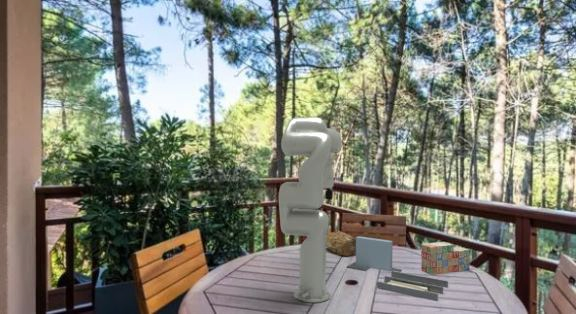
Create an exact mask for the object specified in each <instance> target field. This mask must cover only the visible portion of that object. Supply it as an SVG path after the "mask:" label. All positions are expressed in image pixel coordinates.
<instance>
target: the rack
mask: <svg viewBox="0 0 576 314" xmlns="http://www.w3.org/2000/svg"><path fill="white" fill-rule="evenodd" d="M390 272H391V275H390V276H391V277H390V276H384V282H381V281H377V282H376V288H377V289H379V290H385V291H390V292H394V293H398V294H402V295H407V296H413V297H416V298H421V299H426V300H431V301H435V302H438V301H439V294H440V295H443V294H444V288H447V289H448V288H449V281H448V280H442V279H438V278H437V279H436V278H431V277H426V276H420V275H416V274H410V273H404V272H398V271H392V270H391V271H390ZM391 280H392V281H397V282H402V283H407V284H412V285H416V286H421V287H426V288H428V292H426V291H421V290H416V289H411V288H406V287H402V286H397V285H392V284H387V283H388V282H389V281H391Z"/></svg>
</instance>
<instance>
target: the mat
mask: <svg viewBox="0 0 576 314" xmlns="http://www.w3.org/2000/svg"><path fill="white" fill-rule="evenodd" d="M346 268H348V269H353V270H357V271H364V272H367V271H369V269H371V268H365V267H360V266H356V261H354V262H352V263H350V264H348V265H347V266H346ZM392 271H395V272H400V273H402V271H403V269H400V268H394V267H392V270H391V272H392Z"/></svg>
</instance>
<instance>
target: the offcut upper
mask: <svg viewBox="0 0 576 314" xmlns="http://www.w3.org/2000/svg"><path fill="white" fill-rule="evenodd" d="M387 284H392V285H397V286H402V287H406V288H411V289H416V290H421V291H426V292H429V291H428V288H426V287H421V286H416V285H412V284H407V283H402V282H397V281H392V280H391V281H389V282H388V283H387Z"/></svg>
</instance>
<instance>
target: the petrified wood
mask: <svg viewBox="0 0 576 314" xmlns="http://www.w3.org/2000/svg"><path fill="white" fill-rule="evenodd" d="M326 249H329V250H330V251H331V252H333V253H334V254H337V255H339V256H344V257H348V256H352V255H356V237H353V236H351V235H350V234H348V233H346V232H343V231H339V230H337V231H332V232H329V233H327V238H326Z"/></svg>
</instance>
